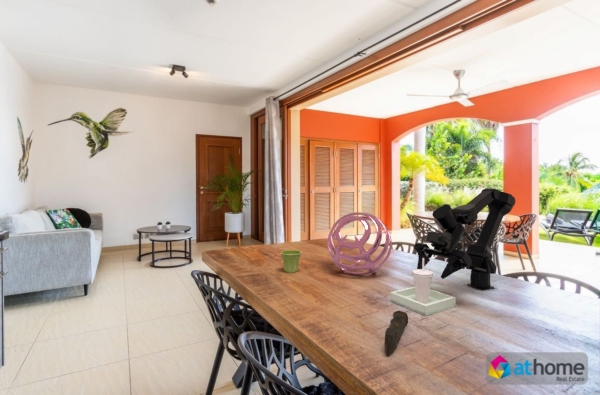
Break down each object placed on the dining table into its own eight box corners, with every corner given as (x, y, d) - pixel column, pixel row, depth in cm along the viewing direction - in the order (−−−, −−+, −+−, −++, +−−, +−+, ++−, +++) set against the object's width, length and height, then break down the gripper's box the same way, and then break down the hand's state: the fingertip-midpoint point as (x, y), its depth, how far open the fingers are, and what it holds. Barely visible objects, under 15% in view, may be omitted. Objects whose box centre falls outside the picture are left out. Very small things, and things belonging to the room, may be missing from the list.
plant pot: (301, 273, 138) (301, 254, 138) (280, 274, 138) (279, 254, 138) (301, 268, 147) (301, 250, 147) (281, 268, 148) (281, 250, 147)
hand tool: (393, 322, 89) (393, 306, 88) (408, 325, 87) (408, 309, 86) (374, 354, 72) (374, 334, 72) (392, 359, 70) (392, 338, 70)
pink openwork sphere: (352, 222, 163) (337, 194, 142) (405, 239, 147) (397, 211, 126) (327, 270, 154) (307, 247, 133) (381, 294, 138) (368, 272, 117)
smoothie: (436, 301, 101) (437, 258, 101) (426, 306, 97) (426, 261, 97) (418, 296, 106) (418, 255, 106) (407, 301, 102) (407, 258, 102)
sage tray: (418, 293, 111) (418, 285, 111) (455, 306, 99) (455, 297, 99) (390, 301, 104) (390, 292, 104) (425, 316, 92) (425, 306, 92)
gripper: (416, 220, 113) (395, 254, 108) (466, 225, 97) (443, 266, 92) (431, 239, 117) (411, 273, 112) (481, 247, 101) (460, 287, 96)
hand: (429, 274), depth 103 cm, fingers open, 9 cm apart
